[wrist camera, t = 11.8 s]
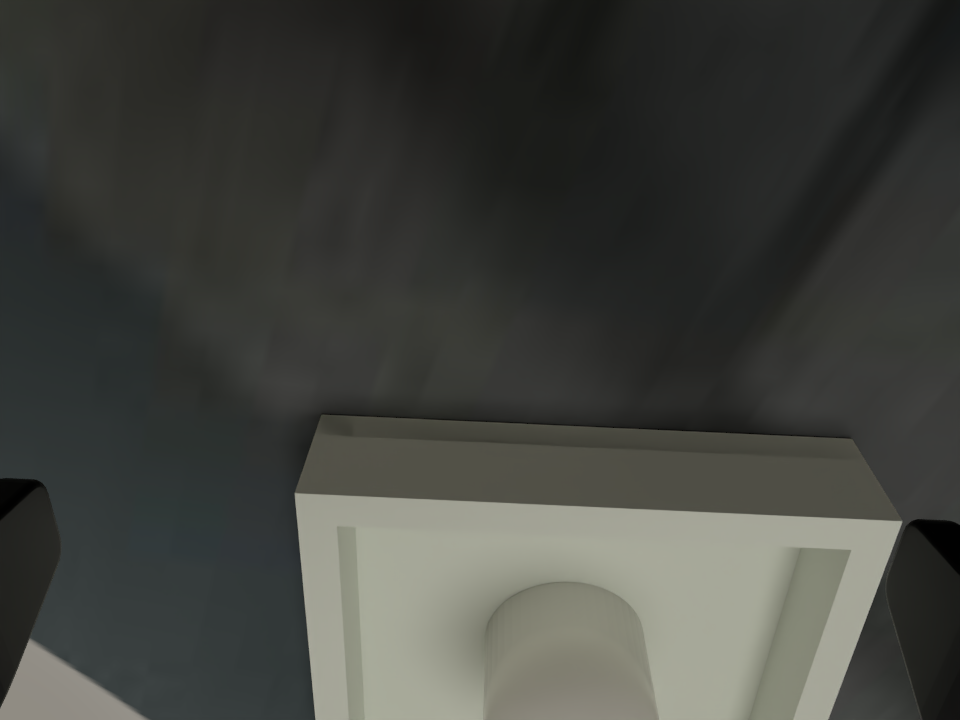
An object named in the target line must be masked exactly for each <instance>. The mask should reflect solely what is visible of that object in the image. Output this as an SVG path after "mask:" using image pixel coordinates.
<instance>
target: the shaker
mask: <svg viewBox="0 0 960 720" xmlns="http://www.w3.org/2000/svg"><path fill="white" fill-rule="evenodd" d="M483 720H659V714H658V709H657V704H656V698H655V693H654V687H653V682H652V676H651V671H650V665H649V660H648V654H647V649H646V643H645V638H644V633H643V628H642V624H641V621H640V619H639V617H638V615H637V614H636V612H635V611H634V609H633V608H632V607H631V606H630V605H629V604H628V603H627V602H626V601H624V600H623V599H622V598H621V597H619V596H617V595H616V594H614V593H612V592H610V591H608V590H605V589H603V588H600V587H597V586H594V585H589V584H584V583H576V582H556V583H548V584H543V585H538V586H535V587H531V588H529V589H526V590H524V591H521V592H519V593H517V594H516V595H514V596H512V597H511V598H509V599H508V600H506V601H505V602H504V603H503V604H502V605H501V606H499V607H498V608H497V610H496V611H495V612H494V613H493V615H492V617H491V618H490V620H489V622H488V625H487V628H486V633H485V658H484V699H483Z"/></svg>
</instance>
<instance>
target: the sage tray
mask: <svg viewBox="0 0 960 720" xmlns="http://www.w3.org/2000/svg"><path fill="white" fill-rule="evenodd" d="M295 502H296V512H297V523H298V534H299V545H300V556H301V567H302V578H303V588H304V599H305V610H306V621H307V632H308V643H309V654H310V665H311V675H312V686H313V697H314V708H315V719H316V720H483V699H484V658H485V633H486V628H487V625H488V622H489V620H490V618H491V617H492V615H493V613H494V612H495V611H496V610H497V608H498V607H499V606H501V605H502V604H503V603H504V602H505V601H506V600H508V599H509V598H511V597H512V596H514V595H516V594H517V593H519V592H521V591H524V590H526V589H529V588H531V587H535V586H538V585H543V584H548V583H556V582H576V583H584V584H589V585H594V586H597V587H600V588H603V589H605V590H608V591H610V592H612V593H614V594H616V595H617V596H619V597H621V598H622V599H623V600H624V601H626V602H627V603H628V604H629V605H630V606H631V607H632V608H633V609H634V611H635V612H636V614H637V615H638V617H639V619H640V621H641V624H642V628H643V633H644V638H645V643H646V649H647V654H648V660H649V665H650V671H651V676H652V682H653V687H654V693H655V698H656V704H657V709H658V714H659V720H828V719H829V716H830V713H831V711H832V708H833V705H834V703H835V700H836V697H837V695H838V692H839V689H840V687H841V684H842V681H843V679H844V676H845V673H846V671H847V668H848V665H849V663H850V660H851V657H852V655H853V652H854V649H855V647H856V644H857V641H858V639H859V636H860V633H861V631H862V628H863V625H864V623H865V620H866V617H867V615H868V612H869V609H870V607H871V604H872V601H873V599H874V596H875V593H876V591H877V588H878V585H879V583H880V580H881V577H882V575H883V572H884V569H885V567H886V564H887V561H888V559H889V556H890V553H891V551H892V548H893V545H894V543H895V540H896V537H897V535H898V532H899V529H900V527H901V524H902V520H901V518H900V516H899V515H898V513H897V511H896V510H895V508H894V507H893V505H892V503H891V502H890V500H889V498H888V497H887V495H886V494H885V492H884V490H883V489H882V487H881V485H880V484H879V482H878V481H877V479H876V477H875V476H874V474H873V472H872V471H871V469H870V467H869V466H868V464H867V463H866V461H865V459H864V458H863V456H862V454H861V453H860V451H859V450H858V448H857V446H856V445H855V443H854V441H853V440H852V439H846V438H824V437H802V436H780V435H758V434H736V433H715V432H693V431H671V430H649V429H627V428H605V427H583V426H562V425H540V424H518V423H496V422H474V421H452V420H430V419H409V418H387V417H365V416H343V415H321V417H320V420H319V423H318V426H317V429H316V432H315V435H314V438H313V441H312V444H311V447H310V450H309V453H308V456H307V459H306V462H305V465H304V467H303V470H302V473H301V476H300V479H299V482H298V485H297V488H296V491H295Z"/></svg>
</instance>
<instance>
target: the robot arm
mask: <svg viewBox="0 0 960 720" xmlns="http://www.w3.org/2000/svg"><path fill="white" fill-rule="evenodd" d="M60 555H61V538H60V534H59V530H58V527H57V523H56V520H55V516H54V513H53V509H52V505H51V502H50V498H49V495H48V492H47V489H46V487H45V486H44V485H43V483H41V482H40V481H37V480H34V479H13V478H3V479H0V707H1V705H2V703H3V701H4V699H5V697H6V695H7V693H8V690H9V688H10V686H11V683H12V681H13V679H14V676H15V674H16V671H17V669H18V666H19V664H20V661H21V658H22V656H23V653H24V650H25V648H26V646H27V643H28V641H29V638H30V635H31V633H32V630H33V628H34V625H35V623H36V620H37V617H38V615H39V612H40V610H41V607H42V605H43V602H44V599H45V597H46V594H47V592H48V589H49V587H50V584H51V581H52V579H53V576H54V574H55V571H56V569H57V566H58V563H59V560H60ZM885 591H886V599H887V603H888V606H889V610H890V613H891V617H892V620H893V624H894V627H895V631H896V634H897V637H898V641H899V644H900V648H901V651H902V655H903V658H904V662H905V665H906V669H907V672H908V676H909V679H910V682H911V686H912V689H913V693H914V696H915V700H916V703H917V707H918V710H919V714H920V717H921V720H960V525H959V524H957V523H955V522H952V521H947V520H925V519H917V520H914V521H911V522H910V523H909V524H908V525H907V526H906V528H905V530H904V532H903V534H902V537H901V540H900V542H899V545H898V548H897V550H896V553H895V556H894V558H893V561H892V564H891V566H890V569H889V571H888V574H887V578H886V585H885Z"/></svg>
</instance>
